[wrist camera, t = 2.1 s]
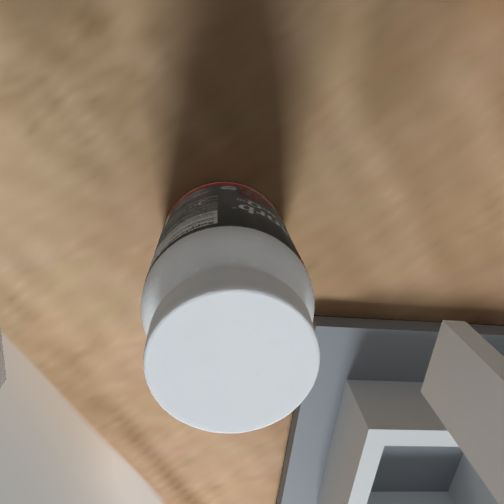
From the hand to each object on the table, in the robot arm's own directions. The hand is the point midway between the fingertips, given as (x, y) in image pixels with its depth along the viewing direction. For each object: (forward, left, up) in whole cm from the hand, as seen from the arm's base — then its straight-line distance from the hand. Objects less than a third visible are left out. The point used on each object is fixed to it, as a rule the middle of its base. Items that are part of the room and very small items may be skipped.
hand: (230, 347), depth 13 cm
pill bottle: (0, 0, -9) cm, 9 cm away
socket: (+12, +12, -8) cm, 19 cm away
